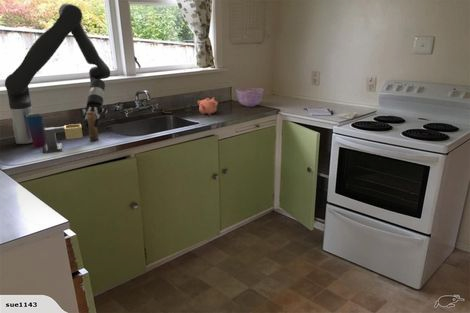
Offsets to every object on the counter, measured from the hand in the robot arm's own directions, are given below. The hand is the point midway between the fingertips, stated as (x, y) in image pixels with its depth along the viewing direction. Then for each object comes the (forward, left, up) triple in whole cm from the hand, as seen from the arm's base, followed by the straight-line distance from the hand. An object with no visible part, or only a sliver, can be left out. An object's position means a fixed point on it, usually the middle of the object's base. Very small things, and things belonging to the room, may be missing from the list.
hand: (91, 126), depth 187 cm
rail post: (+1, +2, -7) cm, 7 cm away
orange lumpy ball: (+74, +37, -8) cm, 83 cm away
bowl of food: (+110, +49, -8) cm, 120 cm away
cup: (-24, +3, -8) cm, 26 cm away
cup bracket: (-13, -6, -7) cm, 17 cm away
